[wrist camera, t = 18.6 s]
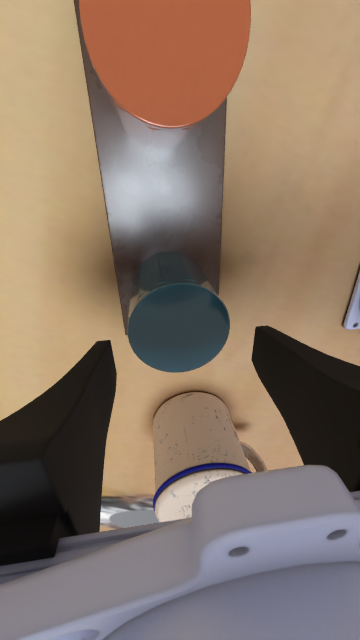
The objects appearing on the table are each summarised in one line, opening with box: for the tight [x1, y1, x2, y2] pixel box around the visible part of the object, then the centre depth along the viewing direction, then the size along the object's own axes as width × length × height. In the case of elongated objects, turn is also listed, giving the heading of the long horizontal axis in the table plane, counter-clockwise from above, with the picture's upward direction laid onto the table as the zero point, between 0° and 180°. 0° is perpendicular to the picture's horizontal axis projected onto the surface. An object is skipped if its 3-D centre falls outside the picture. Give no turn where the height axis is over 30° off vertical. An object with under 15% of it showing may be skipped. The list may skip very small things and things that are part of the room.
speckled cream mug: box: [153, 392, 267, 522], centre depth 25 cm, size 12×9×12 cm
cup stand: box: [74, 0, 227, 335], centre depth 16 cm, size 8×20×6 cm, turn 2°
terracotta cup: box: [79, 0, 251, 149], centre depth 12 cm, size 6×6×7 cm
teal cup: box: [127, 251, 230, 372], centre depth 17 cm, size 6×6×7 cm
